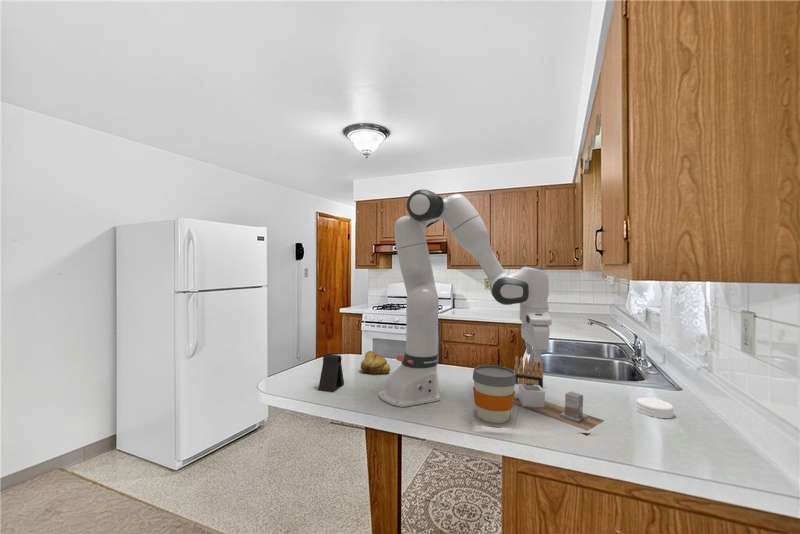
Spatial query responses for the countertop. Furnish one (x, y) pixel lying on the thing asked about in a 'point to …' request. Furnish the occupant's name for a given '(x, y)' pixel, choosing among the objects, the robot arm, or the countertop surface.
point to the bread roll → (374, 364)
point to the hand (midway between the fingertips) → (532, 357)
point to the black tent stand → (331, 373)
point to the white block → (531, 395)
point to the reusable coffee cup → (494, 392)
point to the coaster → (654, 407)
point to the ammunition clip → (531, 378)
